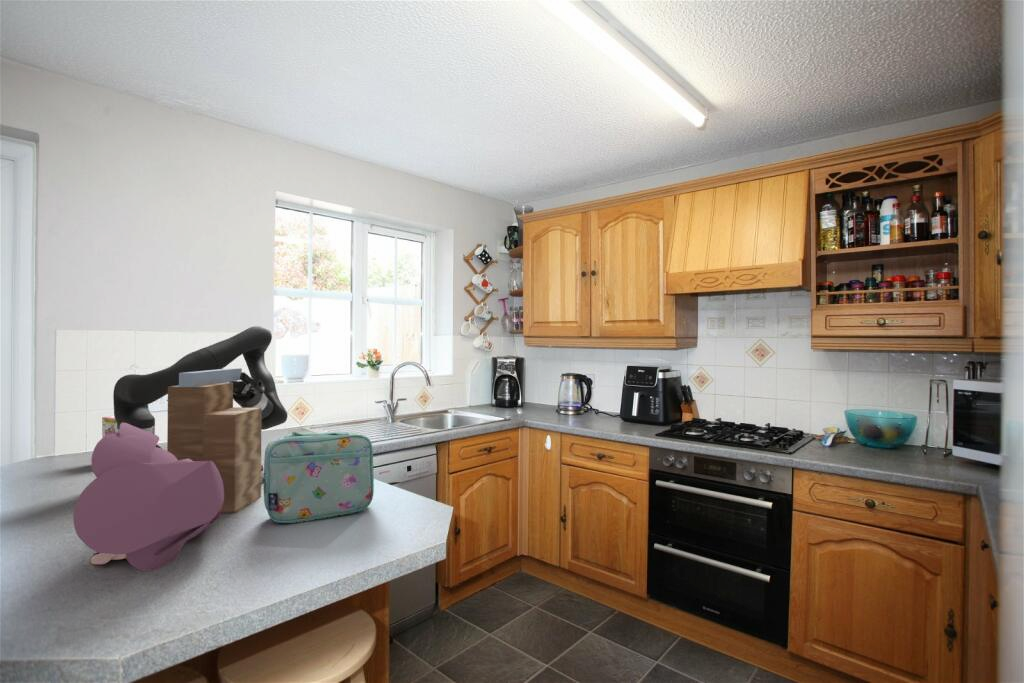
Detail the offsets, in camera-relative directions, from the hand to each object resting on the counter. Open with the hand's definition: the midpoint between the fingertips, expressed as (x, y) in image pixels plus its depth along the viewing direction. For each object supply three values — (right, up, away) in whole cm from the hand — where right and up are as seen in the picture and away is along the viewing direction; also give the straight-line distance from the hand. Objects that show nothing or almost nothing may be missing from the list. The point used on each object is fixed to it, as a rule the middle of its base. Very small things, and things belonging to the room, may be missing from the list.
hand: (227, 375), depth 148 cm
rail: (0, -2, -7) cm, 7 cm away
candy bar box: (-57, -34, +32) cm, 73 cm away
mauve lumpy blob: (+7, -34, -41) cm, 54 cm away
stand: (+4, -34, -12) cm, 36 cm away
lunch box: (+34, -34, -20) cm, 52 cm away
